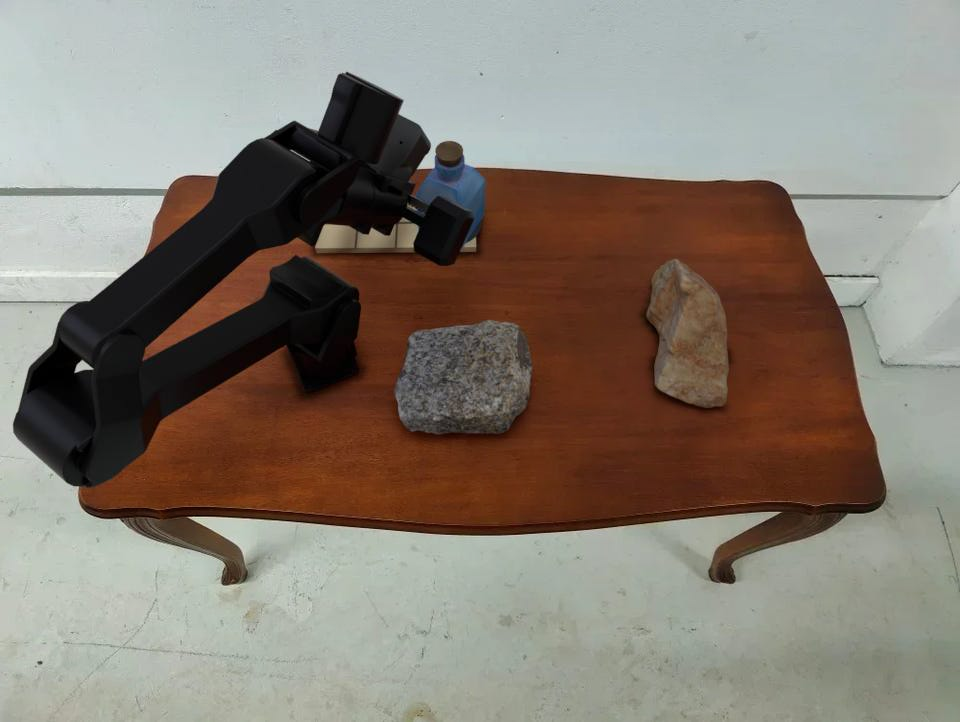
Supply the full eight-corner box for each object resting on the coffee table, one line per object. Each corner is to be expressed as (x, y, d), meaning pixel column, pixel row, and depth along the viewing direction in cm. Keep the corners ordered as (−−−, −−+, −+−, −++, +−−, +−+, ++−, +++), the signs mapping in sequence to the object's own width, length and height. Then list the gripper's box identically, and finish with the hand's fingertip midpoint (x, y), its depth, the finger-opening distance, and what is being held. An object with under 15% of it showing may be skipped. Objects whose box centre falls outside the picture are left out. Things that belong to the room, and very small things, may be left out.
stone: (642, 263, 86) (691, 240, 76) (705, 279, 88) (759, 259, 79) (627, 403, 83) (676, 397, 73) (692, 416, 85) (748, 411, 76)
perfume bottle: (484, 214, 91) (486, 142, 80) (461, 248, 88) (460, 177, 77) (442, 198, 92) (438, 124, 82) (418, 230, 89) (411, 158, 79)
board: (316, 253, 89) (314, 247, 88) (322, 205, 93) (320, 199, 92) (482, 251, 89) (482, 246, 88) (481, 204, 93) (481, 198, 92)
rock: (391, 439, 76) (531, 444, 76) (387, 414, 70) (537, 420, 71) (401, 338, 82) (530, 343, 82) (397, 307, 76) (536, 314, 77)
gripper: (463, 156, 62) (522, 175, 76) (304, 75, 67) (387, 106, 82) (414, 269, 66) (480, 267, 80) (266, 183, 71) (352, 196, 85)
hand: (424, 206), depth 81 cm, fingers open, 9 cm apart
